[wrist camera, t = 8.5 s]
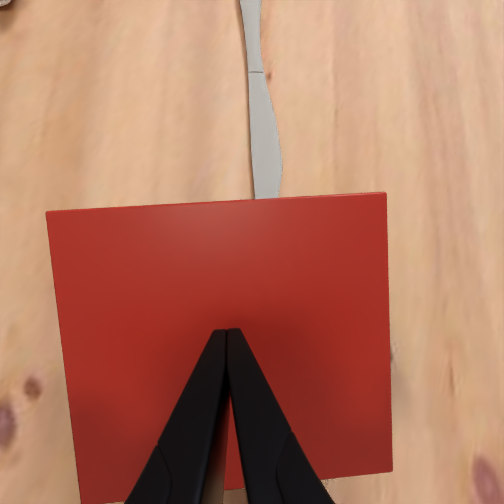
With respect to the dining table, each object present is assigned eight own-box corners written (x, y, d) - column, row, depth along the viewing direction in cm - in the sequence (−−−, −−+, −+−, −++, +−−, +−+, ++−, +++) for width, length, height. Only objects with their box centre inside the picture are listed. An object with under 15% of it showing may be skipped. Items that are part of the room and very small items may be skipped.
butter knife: (268, -59, 25) (235, -62, 25) (287, 233, 21) (247, 234, 21) (267, -51, 26) (235, -54, 25) (285, 235, 22) (247, 235, 21)
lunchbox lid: (57, 212, 12) (43, 210, 11) (377, 193, 12) (387, 191, 11) (90, 489, 13) (80, 507, 12) (384, 458, 13) (393, 472, 12)
